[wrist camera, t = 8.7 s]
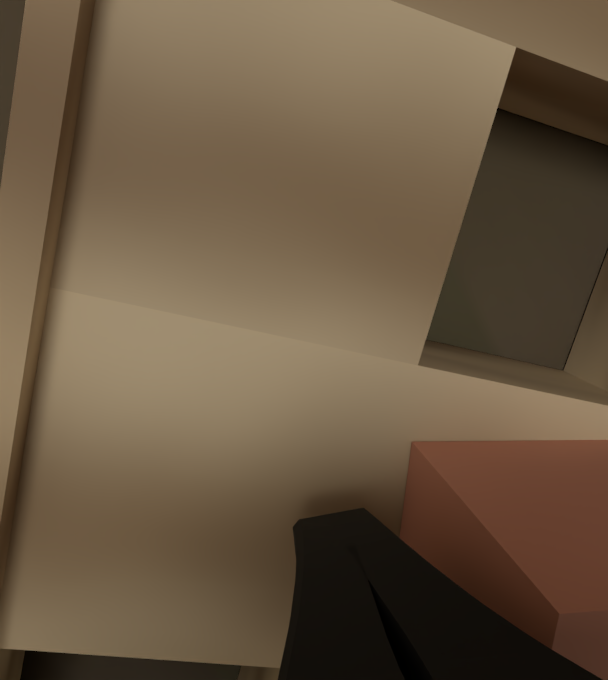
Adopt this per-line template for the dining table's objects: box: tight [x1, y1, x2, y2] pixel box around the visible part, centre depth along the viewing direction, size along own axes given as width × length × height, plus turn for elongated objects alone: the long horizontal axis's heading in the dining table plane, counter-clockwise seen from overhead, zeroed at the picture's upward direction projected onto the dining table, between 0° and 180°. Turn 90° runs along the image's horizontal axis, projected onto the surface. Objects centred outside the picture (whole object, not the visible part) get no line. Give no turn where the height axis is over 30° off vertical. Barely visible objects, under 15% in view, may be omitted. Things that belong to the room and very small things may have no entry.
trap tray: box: [0, 0, 608, 680], centre depth 10 cm, size 24×12×5 cm, turn 165°
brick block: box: [399, 440, 608, 680], centre depth 8 cm, size 4×4×4 cm
